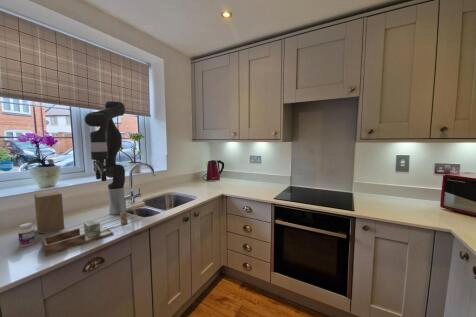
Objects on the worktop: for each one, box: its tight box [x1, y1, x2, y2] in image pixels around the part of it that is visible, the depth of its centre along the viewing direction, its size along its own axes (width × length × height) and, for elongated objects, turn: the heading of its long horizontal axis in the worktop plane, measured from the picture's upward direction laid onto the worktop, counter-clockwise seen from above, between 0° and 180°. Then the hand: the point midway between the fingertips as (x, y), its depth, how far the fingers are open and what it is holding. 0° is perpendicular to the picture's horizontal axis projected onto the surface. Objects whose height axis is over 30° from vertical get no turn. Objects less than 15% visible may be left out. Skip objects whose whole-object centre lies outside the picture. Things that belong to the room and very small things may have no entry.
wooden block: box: [33, 190, 65, 235], centre depth 112 cm, size 10×10×20 cm
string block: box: [83, 211, 128, 238], centre depth 109 cm, size 19×7×7 cm, turn 140°
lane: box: [40, 226, 114, 257], centre depth 100 cm, size 26×11×4 cm, turn 140°
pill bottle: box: [18, 222, 37, 248], centre depth 96 cm, size 5×5×10 cm
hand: (101, 180), depth 111 cm, fingers open, 8 cm apart
